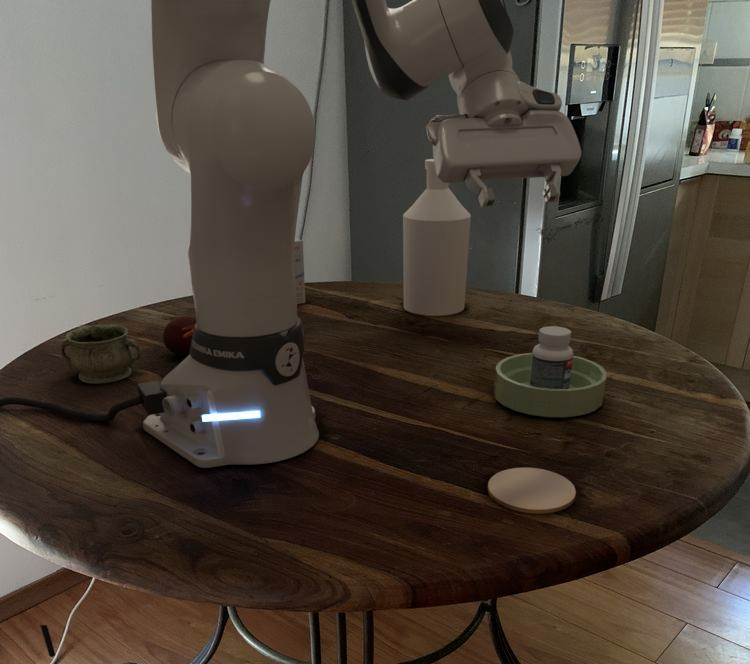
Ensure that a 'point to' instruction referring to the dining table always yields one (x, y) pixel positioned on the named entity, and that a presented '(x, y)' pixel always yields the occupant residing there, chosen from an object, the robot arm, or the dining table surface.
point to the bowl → (545, 401)
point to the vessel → (101, 353)
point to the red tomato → (179, 335)
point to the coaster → (531, 490)
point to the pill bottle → (552, 359)
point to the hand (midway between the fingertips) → (521, 201)
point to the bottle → (435, 250)
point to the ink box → (299, 271)
